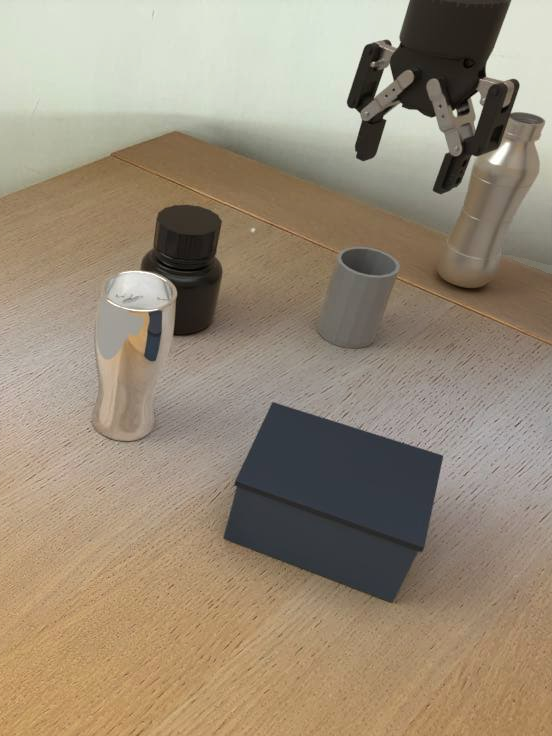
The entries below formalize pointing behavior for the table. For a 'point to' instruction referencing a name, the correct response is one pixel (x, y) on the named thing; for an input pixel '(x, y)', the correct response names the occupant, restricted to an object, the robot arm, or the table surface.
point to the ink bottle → (188, 262)
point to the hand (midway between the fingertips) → (402, 174)
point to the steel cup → (357, 296)
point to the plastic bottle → (492, 204)
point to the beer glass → (131, 350)
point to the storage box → (334, 500)
